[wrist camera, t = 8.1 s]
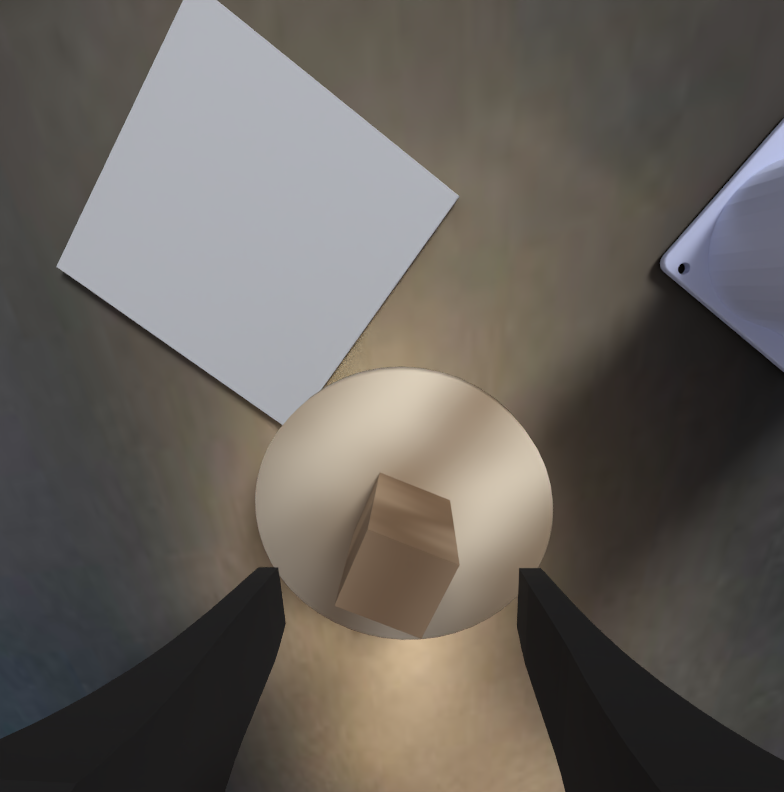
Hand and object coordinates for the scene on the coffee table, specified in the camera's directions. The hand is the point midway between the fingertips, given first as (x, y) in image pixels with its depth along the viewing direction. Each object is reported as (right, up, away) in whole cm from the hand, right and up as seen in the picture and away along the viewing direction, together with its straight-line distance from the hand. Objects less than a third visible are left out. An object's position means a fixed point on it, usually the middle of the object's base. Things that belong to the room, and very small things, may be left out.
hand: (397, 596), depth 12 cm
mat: (-7, +14, +8) cm, 17 cm away
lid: (0, +1, +5) cm, 6 cm away
